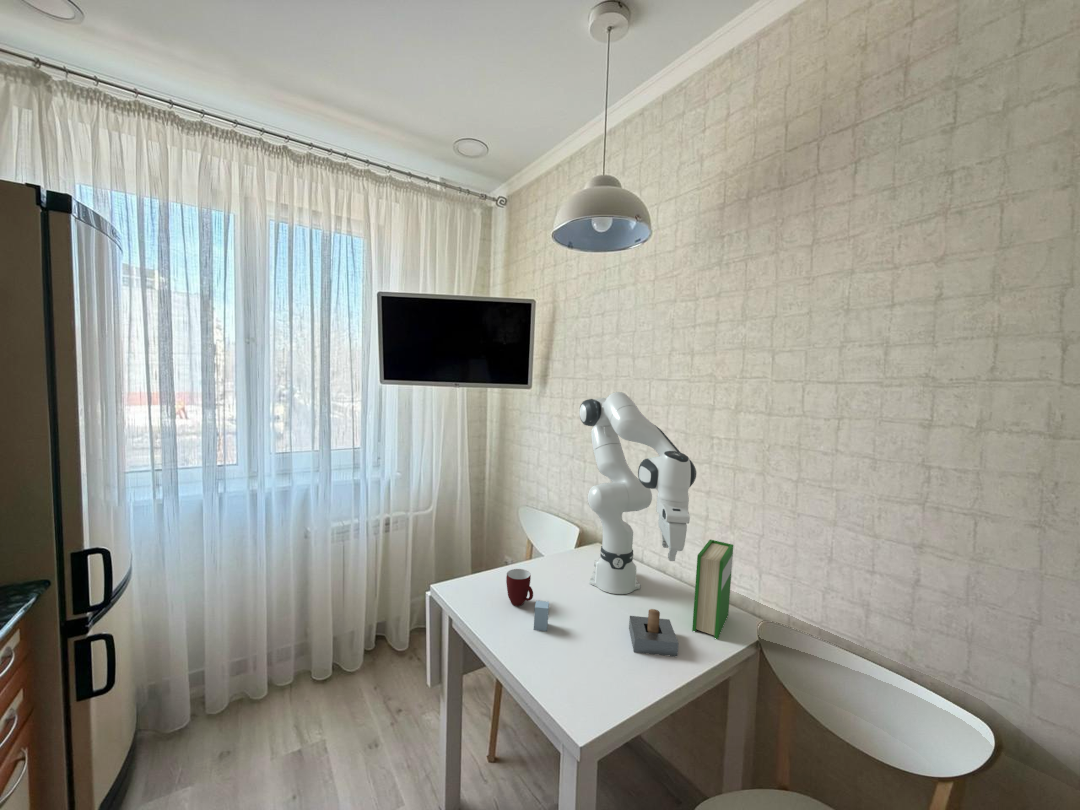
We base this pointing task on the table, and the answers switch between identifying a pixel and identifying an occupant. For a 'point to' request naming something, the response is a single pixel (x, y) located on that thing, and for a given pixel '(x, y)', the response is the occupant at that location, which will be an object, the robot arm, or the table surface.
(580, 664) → the table surface
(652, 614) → the round peg
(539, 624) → the square peg
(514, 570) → the mug
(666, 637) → the socket
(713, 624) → the hardback book
